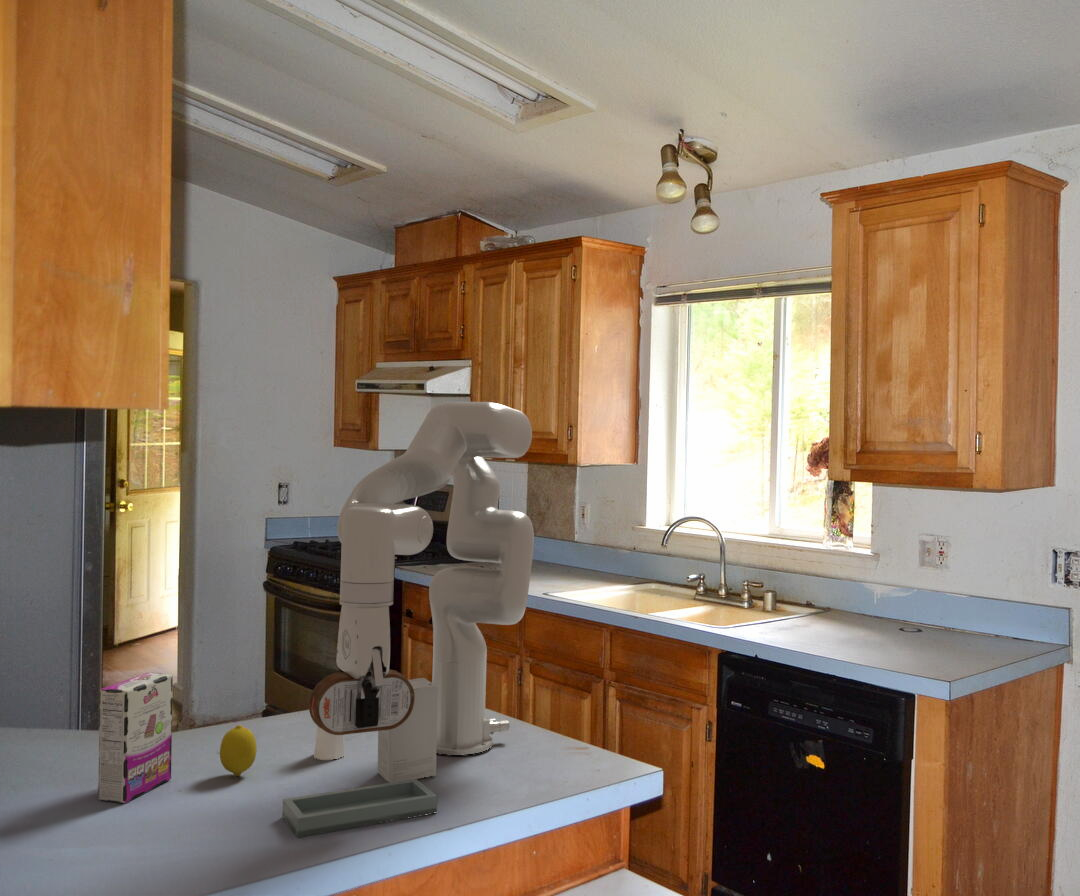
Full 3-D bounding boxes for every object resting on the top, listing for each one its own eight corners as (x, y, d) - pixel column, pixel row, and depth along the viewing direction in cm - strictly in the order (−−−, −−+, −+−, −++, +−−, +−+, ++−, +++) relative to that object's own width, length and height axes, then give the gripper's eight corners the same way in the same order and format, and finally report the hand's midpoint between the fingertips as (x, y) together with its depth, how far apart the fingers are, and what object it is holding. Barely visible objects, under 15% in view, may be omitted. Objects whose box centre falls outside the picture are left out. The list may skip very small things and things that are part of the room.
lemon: (242, 768, 153) (244, 718, 153) (262, 775, 149) (264, 725, 149) (211, 776, 149) (213, 725, 149) (231, 784, 145) (233, 732, 145)
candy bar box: (143, 776, 148) (147, 671, 148) (172, 779, 146) (175, 673, 147) (94, 801, 137) (98, 687, 137) (124, 805, 136) (128, 690, 136)
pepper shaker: (307, 759, 158) (309, 693, 158) (320, 749, 163) (322, 686, 164) (338, 761, 157) (340, 695, 157) (350, 752, 162) (352, 688, 163)
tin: (408, 723, 139) (409, 665, 139) (416, 728, 136) (417, 669, 137) (307, 735, 132) (308, 674, 132) (313, 740, 129) (315, 678, 129)
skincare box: (423, 766, 156) (425, 676, 156) (437, 778, 151) (440, 684, 151) (374, 773, 152) (377, 681, 152) (387, 785, 146) (390, 689, 147)
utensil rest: (415, 795, 142) (416, 778, 142) (436, 813, 135) (437, 795, 135) (282, 817, 132) (282, 799, 133) (297, 837, 126) (298, 818, 126)
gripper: (324, 587, 140) (320, 712, 139) (359, 602, 126) (355, 741, 125) (372, 585, 143) (368, 707, 143) (412, 600, 129) (408, 735, 129)
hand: (362, 722), depth 134 cm, fingers closed on tin, 2 cm apart
